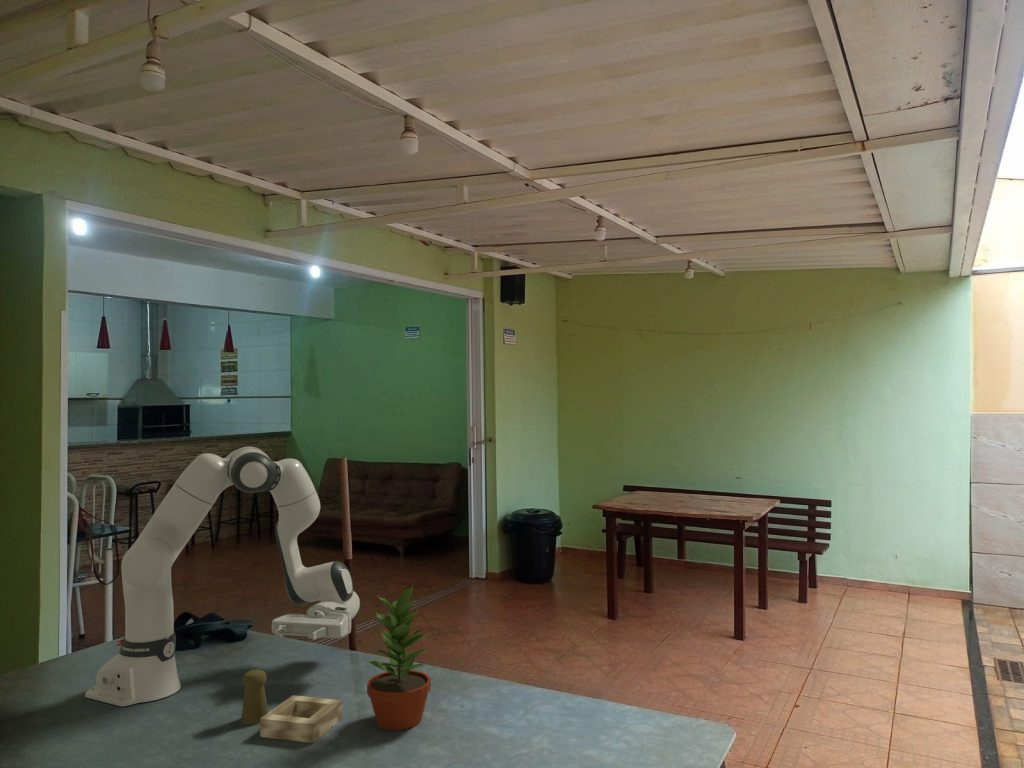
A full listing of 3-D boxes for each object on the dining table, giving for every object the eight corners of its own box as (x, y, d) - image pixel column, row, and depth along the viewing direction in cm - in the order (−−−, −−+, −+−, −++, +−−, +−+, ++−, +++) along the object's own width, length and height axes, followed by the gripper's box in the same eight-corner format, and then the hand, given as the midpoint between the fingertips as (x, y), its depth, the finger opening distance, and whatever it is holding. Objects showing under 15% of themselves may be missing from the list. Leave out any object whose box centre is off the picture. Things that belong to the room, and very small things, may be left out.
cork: (259, 726, 167) (259, 677, 167) (235, 724, 168) (235, 675, 168) (273, 715, 172) (273, 667, 173) (250, 713, 174) (249, 666, 174)
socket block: (260, 736, 161) (260, 718, 161) (292, 712, 174) (292, 695, 174) (313, 743, 158) (313, 724, 158) (342, 717, 170) (342, 700, 170)
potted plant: (352, 730, 164) (351, 594, 165) (388, 703, 178) (387, 578, 179) (411, 740, 158) (410, 600, 159) (443, 712, 173) (442, 583, 173)
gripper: (287, 605, 203) (258, 620, 189) (355, 609, 197) (330, 625, 184) (288, 628, 202) (258, 645, 189) (356, 633, 197) (330, 650, 184)
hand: (294, 635), depth 186 cm, fingers open, 8 cm apart
